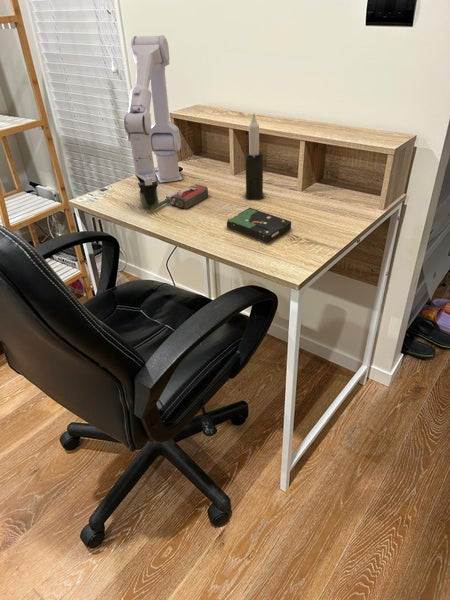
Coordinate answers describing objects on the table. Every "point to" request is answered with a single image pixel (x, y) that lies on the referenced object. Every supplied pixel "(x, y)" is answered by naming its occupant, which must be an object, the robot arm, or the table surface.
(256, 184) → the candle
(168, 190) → the table surface
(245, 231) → the disk drive
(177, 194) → the walkie-talkie
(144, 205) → the green cup
